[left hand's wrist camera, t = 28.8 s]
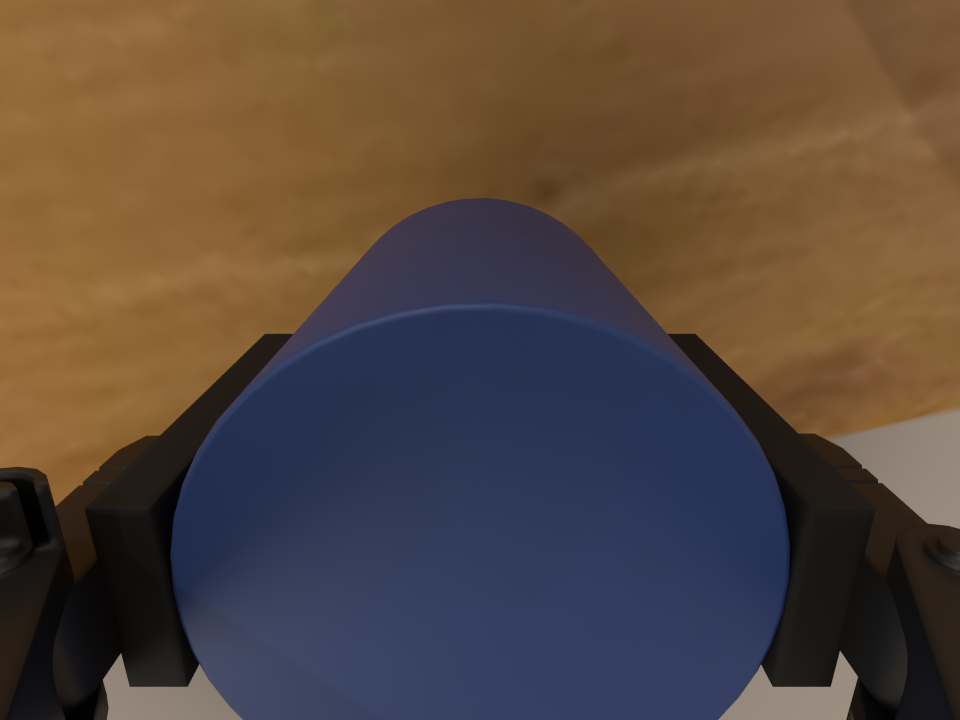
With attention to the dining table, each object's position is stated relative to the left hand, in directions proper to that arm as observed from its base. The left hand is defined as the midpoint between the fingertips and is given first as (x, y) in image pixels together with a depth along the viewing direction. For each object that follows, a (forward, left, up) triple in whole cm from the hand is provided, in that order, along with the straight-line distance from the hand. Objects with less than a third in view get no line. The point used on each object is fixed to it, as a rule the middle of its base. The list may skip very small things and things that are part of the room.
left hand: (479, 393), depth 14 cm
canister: (0, 0, -4) cm, 4 cm away
